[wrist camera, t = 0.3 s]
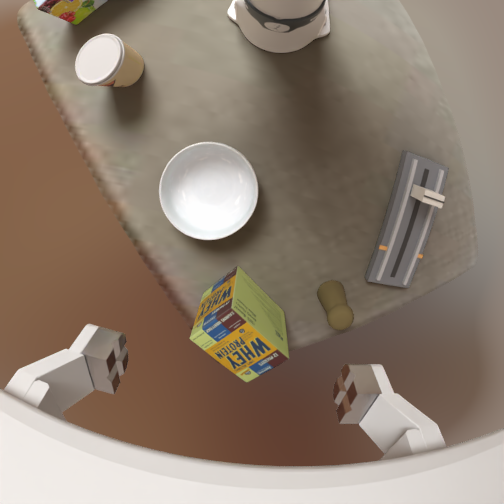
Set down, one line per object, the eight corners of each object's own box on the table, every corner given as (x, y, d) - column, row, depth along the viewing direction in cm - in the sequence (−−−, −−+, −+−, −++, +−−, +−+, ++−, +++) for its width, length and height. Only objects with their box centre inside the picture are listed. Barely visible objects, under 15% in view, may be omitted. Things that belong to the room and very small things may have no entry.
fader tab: (413, 183, 51) (426, 189, 46) (432, 190, 51) (445, 196, 46) (410, 195, 52) (422, 202, 47) (429, 201, 52) (442, 208, 47)
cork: (312, 300, 64) (321, 331, 54) (324, 276, 61) (335, 305, 51) (336, 307, 64) (348, 337, 54) (348, 284, 62) (363, 313, 52)
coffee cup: (98, 82, 46) (65, 76, 35) (120, 42, 42) (91, 27, 31) (132, 98, 47) (103, 93, 36) (157, 56, 44) (132, 40, 33)
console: (402, 150, 50) (409, 151, 48) (443, 166, 51) (450, 168, 48) (364, 277, 61) (368, 283, 59) (405, 283, 62) (409, 289, 59)
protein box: (237, 264, 61) (231, 307, 46) (284, 311, 65) (290, 359, 51) (201, 292, 64) (187, 338, 49) (249, 335, 68) (247, 384, 54)
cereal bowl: (216, 121, 50) (210, 120, 43) (277, 188, 54) (279, 196, 48) (152, 184, 54) (139, 192, 48) (211, 244, 59) (205, 259, 53)
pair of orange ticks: (379, 244, 56) (380, 245, 56) (422, 254, 57) (423, 255, 56) (378, 248, 56) (379, 249, 56) (421, 257, 57) (422, 258, 57)
